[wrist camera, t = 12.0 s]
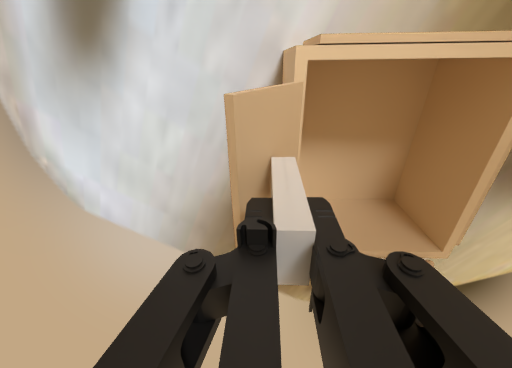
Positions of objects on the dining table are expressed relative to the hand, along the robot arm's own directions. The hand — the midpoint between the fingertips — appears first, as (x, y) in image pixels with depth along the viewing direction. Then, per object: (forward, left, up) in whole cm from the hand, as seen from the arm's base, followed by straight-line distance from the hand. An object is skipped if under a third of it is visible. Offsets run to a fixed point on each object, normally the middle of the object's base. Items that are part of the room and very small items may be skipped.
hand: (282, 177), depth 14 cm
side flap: (0, 0, 0) cm, 1 cm away
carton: (+2, +9, -14) cm, 17 cm away
